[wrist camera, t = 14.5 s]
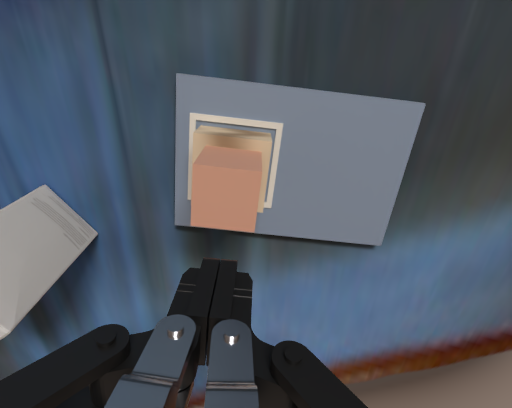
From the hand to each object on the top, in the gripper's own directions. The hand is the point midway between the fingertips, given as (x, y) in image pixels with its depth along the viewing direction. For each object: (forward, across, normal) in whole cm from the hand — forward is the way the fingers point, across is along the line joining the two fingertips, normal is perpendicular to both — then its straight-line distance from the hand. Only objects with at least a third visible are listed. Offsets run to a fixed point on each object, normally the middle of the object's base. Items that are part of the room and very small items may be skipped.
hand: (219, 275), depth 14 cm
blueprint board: (+21, -5, +1) cm, 22 cm away
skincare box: (+21, +21, +10) cm, 32 cm away
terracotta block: (+16, +1, +1) cm, 16 cm away
